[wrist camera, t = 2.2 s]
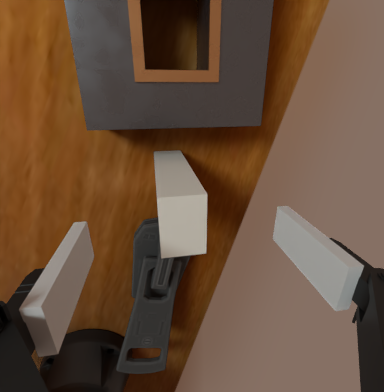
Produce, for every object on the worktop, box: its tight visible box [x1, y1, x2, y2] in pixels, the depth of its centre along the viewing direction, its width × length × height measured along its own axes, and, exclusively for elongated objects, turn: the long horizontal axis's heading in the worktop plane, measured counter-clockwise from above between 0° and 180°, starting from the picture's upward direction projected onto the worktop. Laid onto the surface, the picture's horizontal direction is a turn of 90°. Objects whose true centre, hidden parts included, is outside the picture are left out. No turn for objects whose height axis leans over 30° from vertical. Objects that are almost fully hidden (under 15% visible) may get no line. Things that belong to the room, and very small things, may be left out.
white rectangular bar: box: [154, 150, 207, 258], centre depth 24 cm, size 5×4×16 cm
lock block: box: [64, 0, 274, 130], centre depth 23 cm, size 18×18×6 cm
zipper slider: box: [116, 218, 191, 374], centre depth 35 cm, size 9×7×25 cm
